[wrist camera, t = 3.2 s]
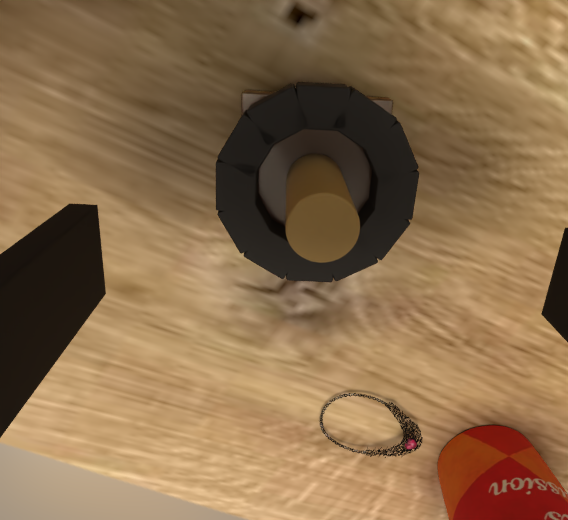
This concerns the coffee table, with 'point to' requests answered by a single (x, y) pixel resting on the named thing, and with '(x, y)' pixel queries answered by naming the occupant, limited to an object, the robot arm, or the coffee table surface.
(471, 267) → the coffee table surface
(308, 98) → the ring
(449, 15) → the coffee table surface
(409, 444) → the necklace
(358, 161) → the ring stand
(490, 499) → the coffee cup
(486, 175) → the coffee table surface
